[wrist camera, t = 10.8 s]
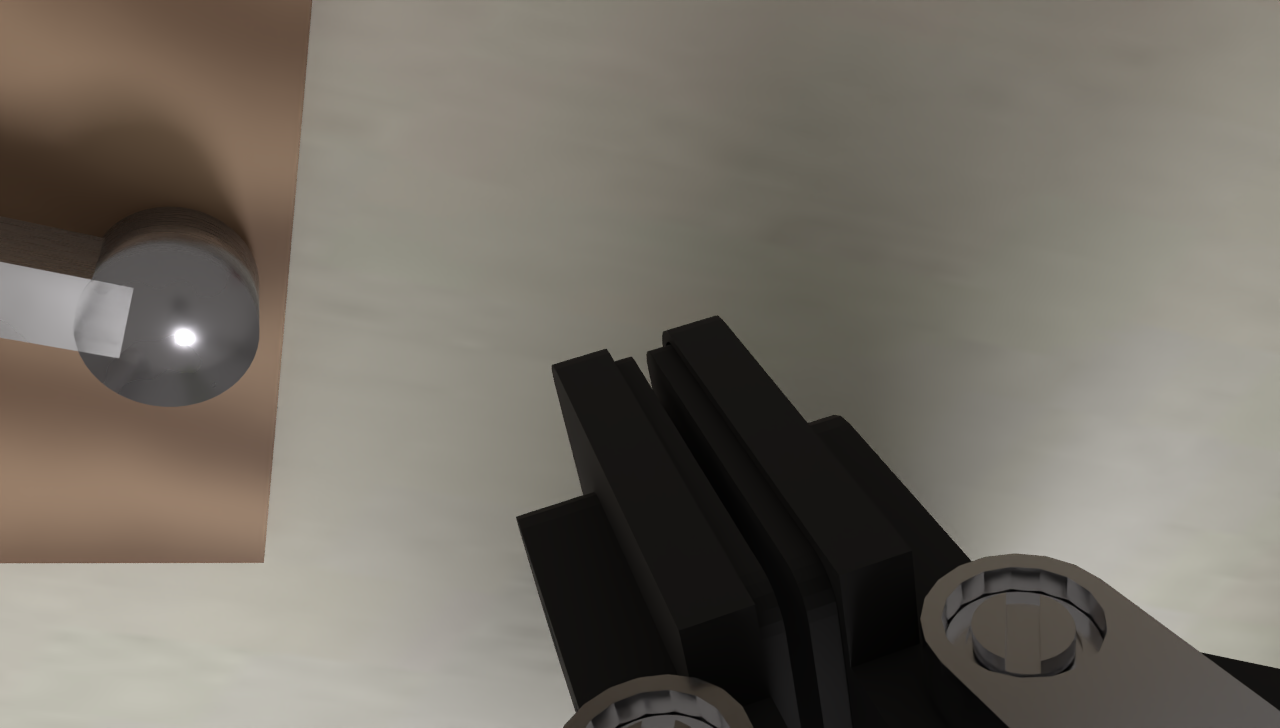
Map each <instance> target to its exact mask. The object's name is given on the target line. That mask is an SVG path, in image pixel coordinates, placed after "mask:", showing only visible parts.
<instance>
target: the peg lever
mask: <svg viewBox="0 0 1280 728" xmlns="http://www.w3.org/2000/svg"><path fill="white" fill-rule="evenodd" d="M0 338H5V339H11V340H16V341H22V342H28V343H34V344H39V345H45V346H51V347H57V348H63V349H68V350H74V351H78V352H79V354H80V356H81V358H82V360H83V362H84V363H85V365H86V366H87V368H88V369H89V370H90V372H91V373H92V374H93V375H94V376H95V377H96V378H97V379H98V380H99V381H100V382H101V383H103V384H104V385H105V386H106V387H108V388H109V389H111V390H112V391H114V392H116V393H117V394H119V395H121V396H123V397H126V398H128V399H130V400H133V401H136V402H139V403H143V404H148V405H152V406H162V407H179V406H188V405H192V404H197V403H201V402H203V401H206V400H209V399H212V398H214V397H216V396H218V395H220V394H221V393H223V392H225V391H226V390H228V389H229V388H230V387H232V386H233V385H234V384H235V383H237V382H238V381H239V379H240V378H241V377H242V376H243V375H244V374H245V373H246V371H247V370H248V368H249V367H250V365H251V363H252V361H253V359H254V357H255V354H256V351H257V348H258V343H259V275H258V269H257V266H256V262H255V260H254V257H253V255H252V253H251V251H250V249H249V248H248V246H247V245H246V243H245V242H244V241H243V240H242V238H241V237H240V236H239V235H238V234H237V233H236V232H235V231H234V230H233V229H232V228H230V227H229V226H228V225H226V224H225V223H224V222H222V221H220V220H218V219H217V218H215V217H213V216H211V215H208V214H206V213H203V212H200V211H197V210H193V209H189V208H183V207H156V208H151V209H146V210H143V211H139V212H136V213H134V214H132V215H129V216H127V217H125V218H124V219H122V220H121V221H119V222H117V223H116V224H115V225H114V226H112V227H111V228H110V229H109V230H108V231H107V232H106V233H105V234H104V236H103V237H102V238H101V237H96V236H92V235H87V234H82V233H77V232H73V231H68V230H63V229H58V228H54V227H49V226H44V225H39V224H35V223H30V222H25V221H20V220H16V219H11V218H6V217H1V216H0Z"/></svg>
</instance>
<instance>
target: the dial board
mask: <svg viewBox="0 0 1280 728" xmlns="http://www.w3.org/2000/svg"><path fill="white" fill-rule="evenodd" d="M311 7H312V0H0V216H1V217H6V218H11V219H16V220H20V221H25V222H30V223H35V224H39V225H44V226H49V227H54V228H58V229H63V230H68V231H73V232H77V233H82V234H87V235H92V236H96V237H101V238H102V237H103V236H104V234H105V233H106V232H107V231H108V230H109V229H110V228H111V227H112V226H114V225H115V224H116V223H117V222H119V221H121V220H122V219H124V218H125V217H127V216H129V215H132V214H134V213H136V212H139V211H143V210H146V209H151V208H156V207H183V208H189V209H193V210H197V211H200V212H203V213H206V214H208V215H211V216H213V217H215V218H217V219H218V220H220V221H222V222H224V223H225V224H226V225H228V226H229V227H230V228H232V229H233V230H234V231H235V232H236V233H237V234H238V235H239V236H240V237H241V238H242V240H243V241H244V242H245V243H246V245H247V246H248V248H249V249H250V251H251V253H252V255H253V257H254V260H255V262H256V266H257V269H258V275H259V343H258V348H257V351H256V354H255V357H254V359H253V361H252V363H251V365H250V367H249V368H248V370H247V371H246V373H245V374H244V375H243V376H242V377H241V378H240V379H239V381H238V382H237V383H235V384H234V385H233V386H232V387H230V388H229V389H228V390H226V391H225V392H223V393H221V394H220V395H218V396H216V397H214V398H212V399H209V400H206V401H203V402H201V403H197V404H192V405H188V406H179V407H162V406H152V405H148V404H143V403H139V402H136V401H133V400H130V399H128V398H126V397H123V396H121V395H119V394H117V393H116V392H114V391H112V390H111V389H109V388H108V387H106V386H105V385H104V384H103V383H101V382H100V381H99V380H98V379H97V378H96V377H95V376H94V375H93V374H92V373H91V372H90V370H89V369H88V368H87V366H86V365H85V363H84V362H83V360H82V358H81V356H80V354H79V352H78V351H74V350H68V349H63V348H57V347H51V346H45V345H39V344H34V343H28V342H22V341H16V340H11V339H5V338H0V563H264V553H265V541H266V530H267V518H268V506H269V495H270V483H271V471H272V460H273V448H274V437H275V425H276V413H277V402H278V390H279V379H280V367H281V355H282V344H283V332H284V321H285V309H286V297H287V286H288V274H289V263H290V251H291V239H292V228H293V216H294V205H295V193H296V181H297V170H298V158H299V147H300V135H301V123H302V112H303V100H304V88H305V77H306V65H307V54H308V42H309V30H310V19H311Z"/></svg>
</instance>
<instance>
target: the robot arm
mask: <svg viewBox="0 0 1280 728" xmlns="http://www.w3.org/2000/svg"><path fill="white" fill-rule="evenodd" d="M662 341H663V347H661V348H658V349H654V350H651V351H648V352H647V364H648V369H649V374H650V379H651V384H652V388H651V386H650V385H649V383H648V381H647V380H646V378H645V377H644V375H643V373H642V372H641V370H640V368H639V367H638V365H637V364H636V362H635V360H634V359H633V358H632V357H628V358H625V359H621V360H618V361H615V362H614V360H613V358H612V357H611V355H610V353H609V352H608V350H607V349H603V350H600V351H597V352H594V353H590V354H587V355H584V356H580V357H577V358H574V359H570V360H567V361H564V362H560V363H557V364H554V365H552V373H553V378H554V382H555V386H556V390H557V394H558V398H559V402H560V406H561V410H562V414H563V418H564V421H565V425H566V429H567V433H568V437H569V441H570V445H571V449H572V453H573V457H574V460H575V464H576V468H577V472H578V476H579V480H580V484H581V488H582V492H583V496H580V497H576V498H573V499H570V500H567V501H564V502H561V503H558V504H555V505H551V506H548V507H545V508H542V509H539V510H536V511H533V512H530V513H526V514H523V515H520V516H517V517H516V518H517V522H518V526H519V529H520V533H521V536H522V540H523V543H524V547H525V550H526V553H527V557H528V560H529V563H530V567H531V570H532V574H533V577H534V580H535V584H536V587H537V590H538V594H539V597H540V600H541V603H542V607H543V610H544V613H545V617H546V620H547V623H548V626H549V630H550V633H551V636H552V639H553V642H554V646H555V649H556V652H557V655H558V658H559V661H560V665H561V668H562V671H563V674H564V677H565V680H566V683H567V686H568V690H569V693H570V696H571V699H572V702H573V705H574V708H575V711H576V713H575V714H574V716H573V717H572V718H571V719H570V720H569V721H568V722H567V723H566V724H565V725H564V727H563V728H1280V669H1278V668H1273V667H1268V666H1263V665H1258V664H1254V663H1249V662H1244V661H1239V660H1235V659H1230V658H1225V657H1220V656H1215V655H1211V654H1206V653H1201V652H1199V651H1198V650H1196V649H1195V648H1194V647H1192V646H1191V645H1190V644H1188V643H1187V642H1185V641H1184V640H1183V639H1181V638H1180V637H1179V636H1177V635H1176V634H1175V633H1173V632H1172V631H1171V630H1169V629H1168V628H1166V627H1165V626H1164V625H1162V624H1161V623H1160V622H1158V621H1157V620H1156V619H1154V618H1153V617H1152V616H1150V615H1149V614H1147V613H1146V612H1145V611H1143V610H1142V609H1141V608H1139V607H1138V606H1137V605H1135V604H1134V603H1133V602H1131V601H1130V600H1128V599H1127V598H1126V597H1124V596H1123V595H1122V594H1120V593H1119V592H1118V591H1116V590H1115V589H1114V588H1112V587H1111V586H1109V585H1108V584H1107V583H1105V582H1104V581H1103V580H1101V579H1100V578H1098V577H1096V576H1094V575H1093V574H1091V573H1089V572H1087V571H1085V570H1084V569H1082V568H1080V567H1078V566H1076V565H1074V564H1071V563H1067V562H1064V561H1060V560H1057V559H1054V558H1050V557H1047V556H1037V555H1026V554H1007V555H998V556H989V557H984V558H981V559H978V560H975V561H971V560H970V559H969V558H968V557H967V556H966V554H965V553H964V552H963V551H962V550H961V549H960V548H959V547H958V545H957V544H956V543H955V542H954V541H953V540H952V539H951V538H950V536H949V535H948V534H947V533H946V532H945V531H944V530H943V529H942V527H941V526H940V525H939V524H938V523H937V522H936V521H935V520H934V518H933V517H932V516H931V515H930V514H929V513H928V512H927V510H926V509H925V508H924V507H923V506H922V505H921V504H920V503H919V501H918V500H917V499H916V498H915V497H914V496H913V495H912V494H911V492H910V491H909V490H908V489H907V488H906V487H905V486H904V485H903V483H902V482H901V481H900V480H899V479H898V478H897V477H896V475H895V474H894V473H893V472H892V471H891V470H890V469H889V468H888V466H887V465H886V464H885V463H884V462H883V461H882V460H881V459H880V457H879V456H878V455H877V454H876V453H875V452H874V451H873V450H872V448H871V447H870V446H869V445H868V444H867V443H866V442H865V440H864V439H863V438H862V437H861V436H860V435H859V434H858V433H857V431H856V430H855V429H854V428H853V427H852V426H851V425H850V424H849V423H848V422H847V421H846V420H845V419H844V418H842V417H841V416H837V415H832V416H829V417H826V418H823V419H820V420H817V421H813V422H810V423H807V422H806V421H805V419H804V418H803V417H802V416H801V415H800V413H799V412H798V411H797V410H796V408H795V407H794V406H793V405H792V404H791V402H790V401H789V400H788V399H787V397H786V396H785V395H784V394H783V393H782V391H781V390H780V389H779V388H778V387H777V385H776V384H775V383H774V382H773V380H772V379H771V378H770V377H769V376H768V374H767V373H766V372H765V371H764V369H763V368H762V367H761V366H760V365H759V363H758V362H757V361H756V360H755V359H754V357H753V356H752V355H751V354H750V352H749V351H748V350H747V349H746V348H745V346H744V345H743V344H742V343H741V342H740V340H739V339H738V338H737V337H736V335H735V334H734V333H733V332H732V331H731V329H730V328H729V327H728V326H727V324H726V323H725V322H724V321H723V320H722V319H721V318H720V317H719V316H713V317H710V318H706V319H703V320H700V321H696V322H693V323H690V324H686V325H683V326H680V327H677V328H673V329H670V330H667V331H663V335H662ZM652 389H653V390H652Z"/></svg>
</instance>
